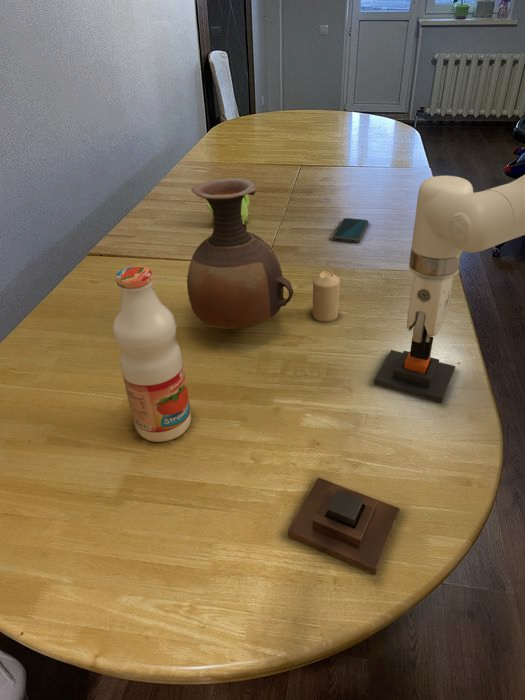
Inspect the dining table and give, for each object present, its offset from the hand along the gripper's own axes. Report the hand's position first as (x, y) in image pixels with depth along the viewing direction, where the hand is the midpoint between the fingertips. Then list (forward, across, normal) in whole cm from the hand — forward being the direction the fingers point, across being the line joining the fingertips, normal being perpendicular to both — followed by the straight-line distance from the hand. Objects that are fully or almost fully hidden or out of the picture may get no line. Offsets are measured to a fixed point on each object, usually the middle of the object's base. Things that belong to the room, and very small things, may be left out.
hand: (419, 355), depth 91 cm
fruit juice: (+5, -30, +34) cm, 46 cm away
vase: (+5, +1, +38) cm, 39 cm away
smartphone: (+4, +58, +34) cm, 68 cm away
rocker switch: (+3, -35, 0) cm, 35 cm away
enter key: (+3, 0, 0) cm, 3 cm away
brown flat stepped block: (+5, -35, 0) cm, 35 cm away
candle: (+5, +13, +23) cm, 27 cm away
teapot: (+4, +50, +70) cm, 87 cm away
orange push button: (+5, 0, 0) cm, 5 cm away
